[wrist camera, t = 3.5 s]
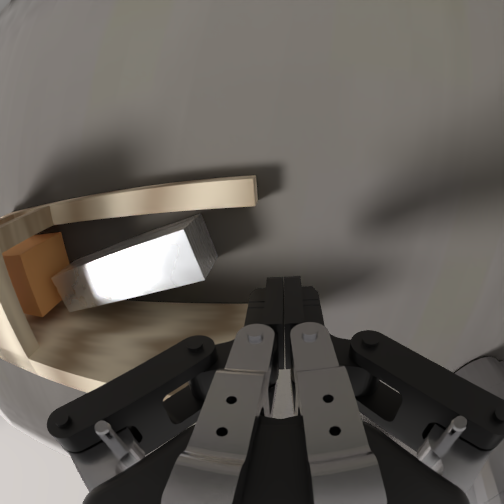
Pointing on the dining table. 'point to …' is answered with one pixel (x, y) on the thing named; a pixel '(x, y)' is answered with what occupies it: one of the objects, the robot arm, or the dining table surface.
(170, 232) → the grey long rectangular bar
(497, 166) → the dining table surface
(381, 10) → the dining table surface
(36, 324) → the bridge channel
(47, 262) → the block
